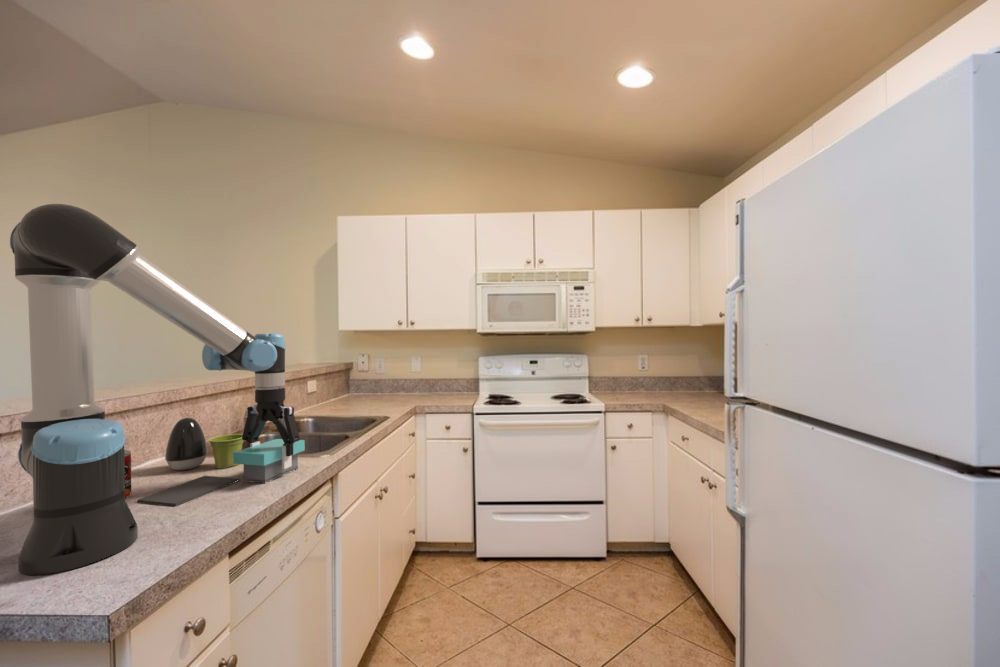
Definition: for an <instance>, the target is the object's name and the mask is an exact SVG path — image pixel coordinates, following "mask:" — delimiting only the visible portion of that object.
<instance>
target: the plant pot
mask: <svg viewBox="0 0 1000 667" xmlns="http://www.w3.org/2000/svg"><path fill="white" fill-rule="evenodd" d="M242 436H243V433H238V434H237V433H233V434H225V435H219V436H213V437H211V438H209V439H208V442H209V443H210V446H211V447H212V453H213V454H212V455H213V457H214V464H215V468H217V469H225V468H224V467H228V468H230V467H236V466H239V464H233V452H236V451H239V450H243V444H244V441H243V440H242ZM235 465H236V466H235Z"/></svg>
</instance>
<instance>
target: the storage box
mask: <svg viewBox="0 0 1000 667" xmlns="http://www.w3.org/2000/svg"><path fill="white" fill-rule="evenodd" d="M298 455H299V453H296V454H294V455H292V466H291V467H288V468H286V469H282V459H281V460H278V461H275V462H273V463H270V464H268V465H265V466H260V465H245V464H243V482H244V481H253V482H252V483H255V482H267V483H269V482H271V481H270V480H272V479H274V480H276V479H278V478H280V477H279V476H281V477H282V475H283V474H285V475H287V474H289V473H288V472H290V471H292V472H294V471H296V470H298V469H299V464H298V463H299V460H298V458H299V456H298ZM295 469H296V470H295ZM293 470H294V471H293ZM286 473H287V474H286ZM290 473H291V472H290ZM283 476H284V475H283ZM277 477H278V478H277ZM275 478H276V479H275ZM268 481H269V482H268ZM272 481H273V480H272Z"/></svg>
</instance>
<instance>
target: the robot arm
mask: <svg viewBox="0 0 1000 667" xmlns="http://www.w3.org/2000/svg"><path fill="white" fill-rule="evenodd" d="M9 246H10V249H11V252H12V253H13V255H14V277H15V279H16V280H17V281H18V282H20V283H21V284H23V285H24V286H26V287H27V298H28V299H27V301H28V302H27V303H28V304H27V305H28V323H29V324H28V327H29V328H28V329H29V330H28V331H29V348H30V350H29V353H30V373H31V374H30V375H31V376H30V377H31V380H30V381H31V400H32V401H31V402H32V404H31V405H32V409H31V410H30V411H29V412H28V413H27V414H25V415H24V416H23V417H21V419H20V427H21V428H20V430H21V435H20V436H21V443H20V444H19V449H18V451H17V457H18V461H19V465H20V466H21V468H22V469H23V471H25V473H27V474H28V475H30V477H31V478H32V488H33V490H32V493H33V496H32V497H33V501H32V502H33V520H32V524H31V525H30V526H31V527H30V529H29V531H28V533H27V536H26V538H25V540H24V542H23V545H22V548H21V550H20V552H19V554H18V563H17V564H18V571H19V573H21V574H22V575H28V576H30V575H31V576H32V575H33V576H38V575H49V574H54V573H60V572H65V571H70V570H72V569H78V568H80V567H84V566H87V565H89V564H90V563H91V564H94V563H95V562H96V561H97V562H99V561H102V560H104V558H105V559H107V558H109V557H111V556H110V555H112V556H114V555H116V554H119V553H120V552H122V551H123V550H126V549H127V548H129V547H130V546H132V545H133V544H134V543H135V542H136V541H137V539H138V537H139V533H138V532H139V531H138V530H139V529H138V528H139V527H138V523H137V521H136V519H135V518H134V515H133V513H132V511H131V509H130V507H129V505H128V503H127V501H126V498H125V463H124V450H125V444H126V435H125V433H124V432H125V430H124V427H123V425H122V424H121V423H120V422H119V421H117V420H115V419H114V420H113V419H110V418H109V419H107V418H106V408H104V407H101V406H100V405H98V404H97V403H96V402H95V386H94V384H95V382H94V358H93V356H94V355H93V334H92V304H91V301H92V300H91V290H92V288H94V287H96V286H97V285H99V283H100V282H101V281H103V282H108V283H110V284H111V285H113V286H114V287H116V288H118V290H121V291H122V292H124V293H125V294H127V295H128V296H130V297H131V298H134V299H135V300H136V301H138V303H139V302H140V304H142V305H144V306H145V307H147V308H149V309H150V310H152V311H153V312H154V313H156V314H158V315H159V316H161V317H163V318H164V319H165V320H167V321H169V322H170V323H172V324H173V325H175V326H176V327H178V328H179V329H181V330H182V331H185V332H186V333H187V334H189V335H191V336H192V337H194V338H195V339H196V340H198V341H200V342H202V344H204V346H203V347H202V354H201V358H202V364H203V366H204V368H205V369H206V370H208V371H219V372H220V371H226V370H229V371H231V370H232V371H233V370H234V371H248V372H252V373H253V372H254V387H255V388H256V389H255V390H254V402H255V403H256V404H257V405H252V406H247V408H246V410H247V411H246V412H247V416H246V420H245V424H244V429H243V433H242V434H243V436H242V440H243V442H247V444H248V448H249V447H252V446H255V445H259V444H261V441H260V436H261V434H262V431H263V430H264V427H265V425H266V423H267V422H271V423H273V425H275V427H276V429H277V431H278V433H279V435H280V438H281V439H283V441H284V444H283V445H282V469H286V468H288V467H291V466H292V455H293V444H294V443H295V442H297V441H299V440H301V437H300V434H299V429H298V426H297V421H296V418H295V407H294V406H289V407H288V406H285V404H284V402H285V400H286V388H285V387H284V386H285V385H286V343H285V342H286V341H285V336H284V335H283V334H282V333H256V334H254V335H253V334H251V333H249V332H248V331H247V330H245V329H244V328H243V327H241V326H240V325H239V324H238V323H236V322H235V321H233V320H231V319H230V318H229V317H227V316H226V315H224V314H223V312H221V311H219V310H218V309H217V308H215V307H214V306H213V305H211V304H210V303H208V302H207V301H205V299H203V298H201V297H200V296H199V295H197V294H196V293H194V291H191V290H190V289H189V288H188V287H186V286H184V284H182V283H180V282H179V281H178V280H176V278H174V277H172V276H171V275H170V274H169V273H167V272H166V271H164V270H163V269H161V268H160V267H158V266H157V265H156V264H155V263H153V262H151V261H150V260H149V259H148V258H146V257H144V256H143V255H142V254H141V253H140V249H139V246H138V245H137V244H136V243H134V242H133V241H132V240H131V239H129V238H128V237H127V236H125V235H124V234H122V233H121V232H120V231H118V230H117V229H115V227H113V226H111V225H110V224H109V223H107V222H106V221H104V220H103V219H101V218H100V217H99V216H97V215H95V214H94V213H92V212H90V211H88V210H87V209H83V208H81V207H78V206H74V205H71V204H66V203H65V204H64V203H49V204H43V205H39V206H37V207H35V208H32V209H31V210H29V211H28V212H27V213H26V214H24V216H23V217H22V218H21V220H20V221H19V222H18V223H17V224H16V225H15V226H14V228H13V229H12V230H11V233H10V236H9ZM288 439H289V440H288ZM113 554H114V555H113ZM108 556H109V557H108ZM106 557H107V558H106ZM101 559H102V560H101ZM93 562H94V563H93Z"/></svg>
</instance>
